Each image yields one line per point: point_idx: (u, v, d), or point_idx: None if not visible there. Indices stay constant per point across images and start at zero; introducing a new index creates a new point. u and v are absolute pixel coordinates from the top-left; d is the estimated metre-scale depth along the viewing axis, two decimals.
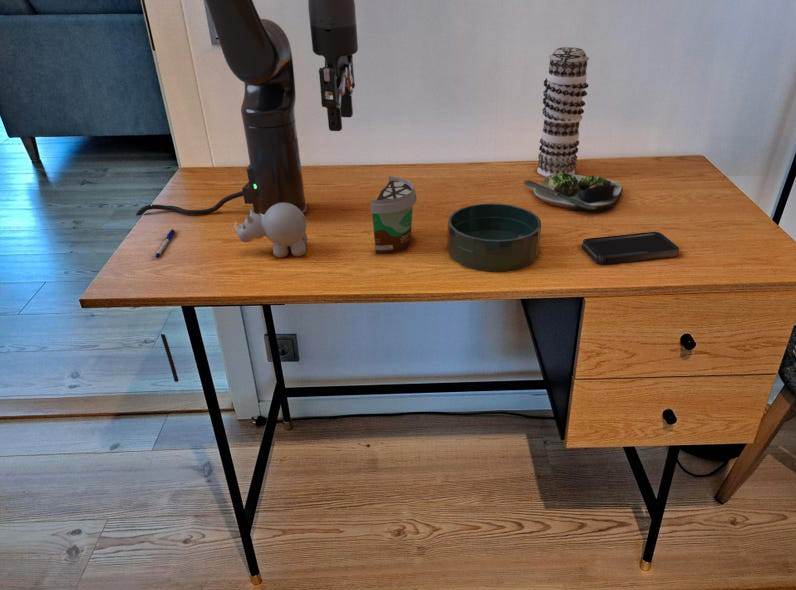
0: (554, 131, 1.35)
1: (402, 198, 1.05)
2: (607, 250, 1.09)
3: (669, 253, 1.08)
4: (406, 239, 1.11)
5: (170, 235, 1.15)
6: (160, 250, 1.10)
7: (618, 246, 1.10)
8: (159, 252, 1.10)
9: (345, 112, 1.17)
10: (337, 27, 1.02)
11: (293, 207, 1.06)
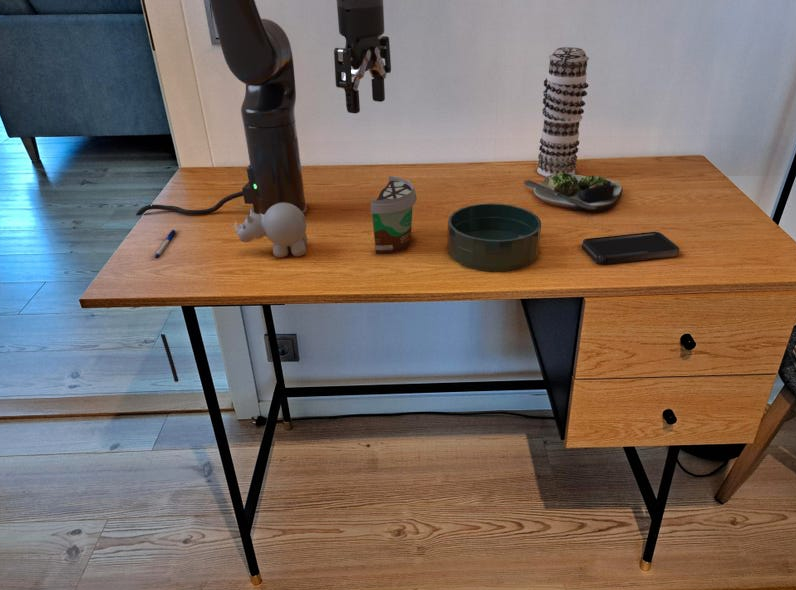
0: (554, 131, 1.35)
1: (402, 198, 1.05)
2: (607, 250, 1.09)
3: (669, 253, 1.08)
4: (406, 239, 1.11)
5: (171, 235, 1.15)
6: (160, 251, 1.10)
7: (618, 246, 1.10)
8: (159, 253, 1.10)
9: (377, 96, 1.16)
10: (357, 8, 1.01)
11: (293, 207, 1.06)
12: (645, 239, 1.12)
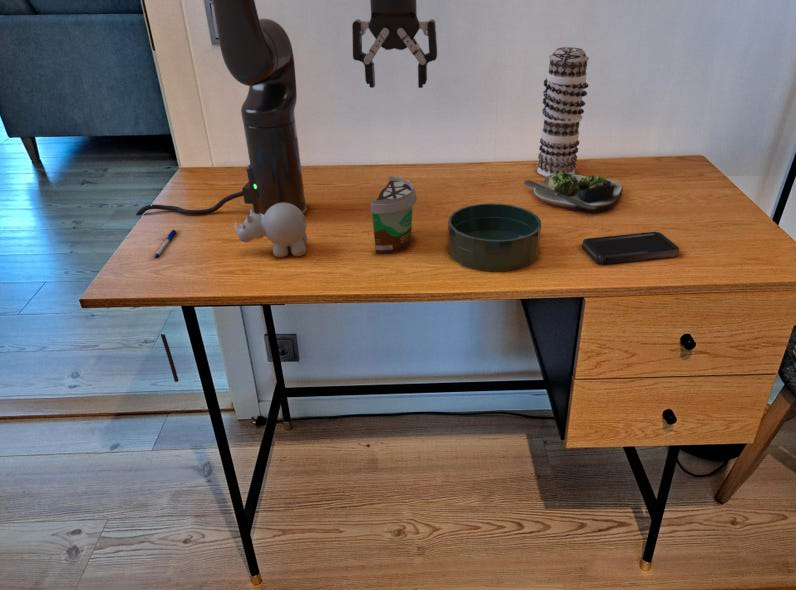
0: (554, 131, 1.35)
1: (402, 198, 1.05)
2: (607, 250, 1.09)
3: (669, 253, 1.08)
4: (406, 239, 1.11)
5: (171, 235, 1.15)
6: (160, 251, 1.10)
7: (618, 246, 1.10)
8: (158, 253, 1.10)
9: None
10: None
11: (293, 207, 1.06)
12: (645, 239, 1.12)
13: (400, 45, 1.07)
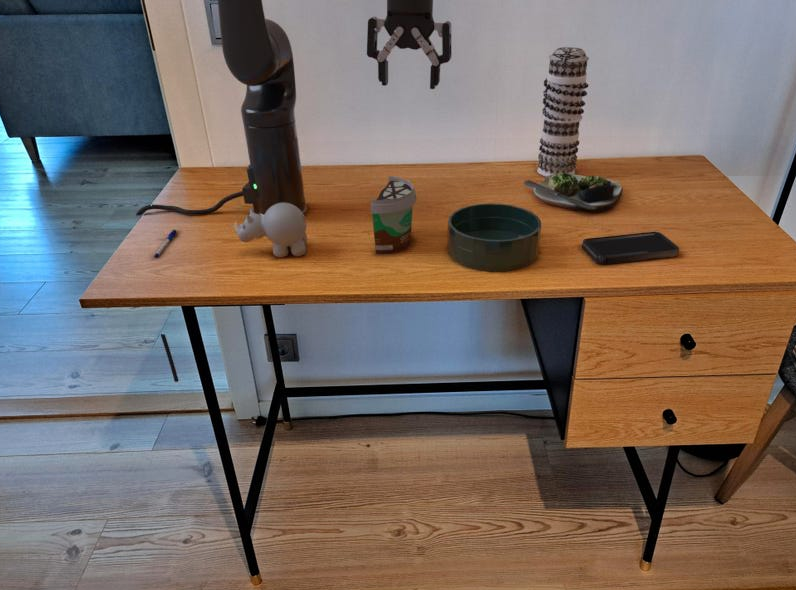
0: (554, 131, 1.35)
1: (402, 198, 1.05)
2: (607, 250, 1.09)
3: (669, 253, 1.08)
4: (406, 239, 1.11)
5: (171, 235, 1.15)
6: (159, 250, 1.10)
7: (618, 246, 1.10)
8: (158, 252, 1.10)
9: None
10: None
11: (293, 207, 1.06)
12: (645, 239, 1.12)
13: (414, 45, 1.07)
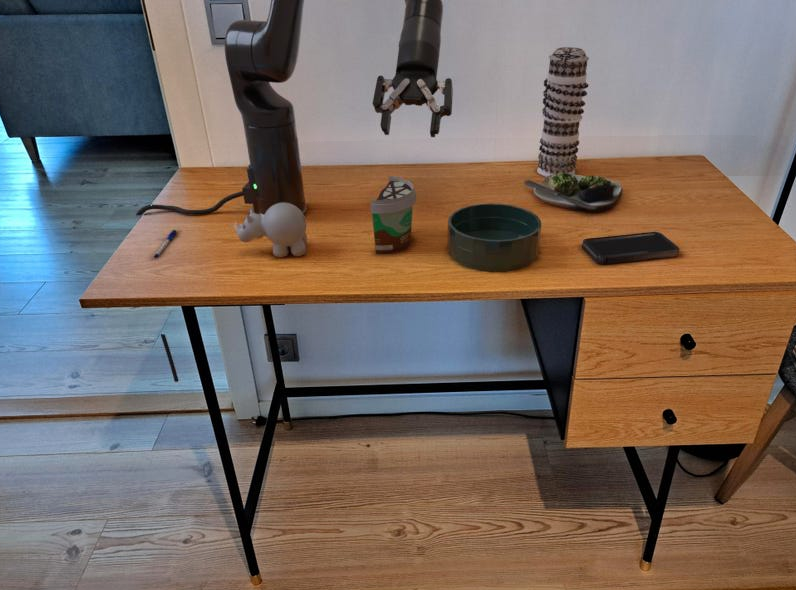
0: (554, 131, 1.35)
1: (402, 198, 1.05)
2: (607, 250, 1.09)
3: (669, 253, 1.08)
4: (406, 239, 1.11)
5: (171, 235, 1.15)
6: (159, 251, 1.10)
7: (618, 246, 1.10)
8: (158, 253, 1.10)
9: None
10: (399, 47, 1.16)
11: (293, 207, 1.06)
12: (645, 239, 1.12)
13: (418, 96, 1.15)
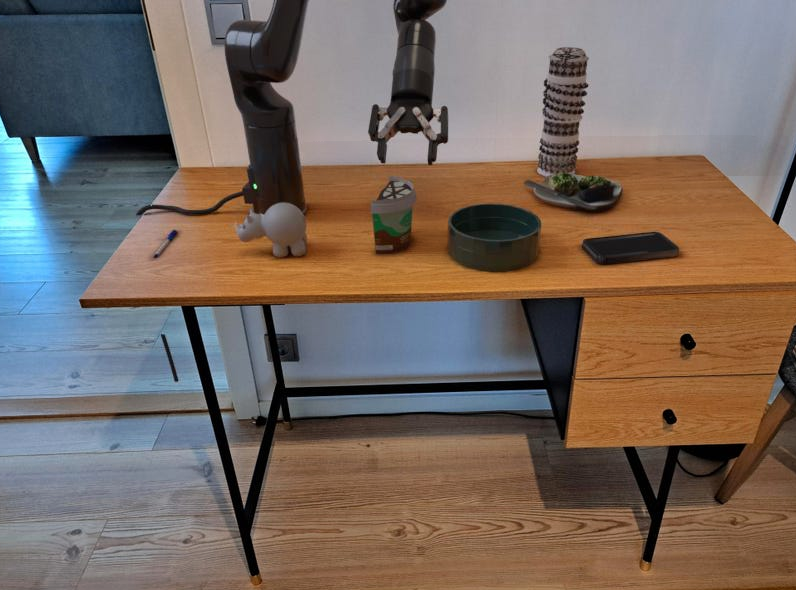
0: (554, 131, 1.35)
1: (402, 198, 1.05)
2: (607, 250, 1.09)
3: (669, 253, 1.08)
4: (406, 239, 1.11)
5: (171, 235, 1.15)
6: (159, 251, 1.10)
7: (618, 246, 1.10)
8: (157, 253, 1.10)
9: None
10: (393, 75, 1.16)
11: (293, 207, 1.06)
12: (645, 239, 1.12)
13: (414, 124, 1.14)
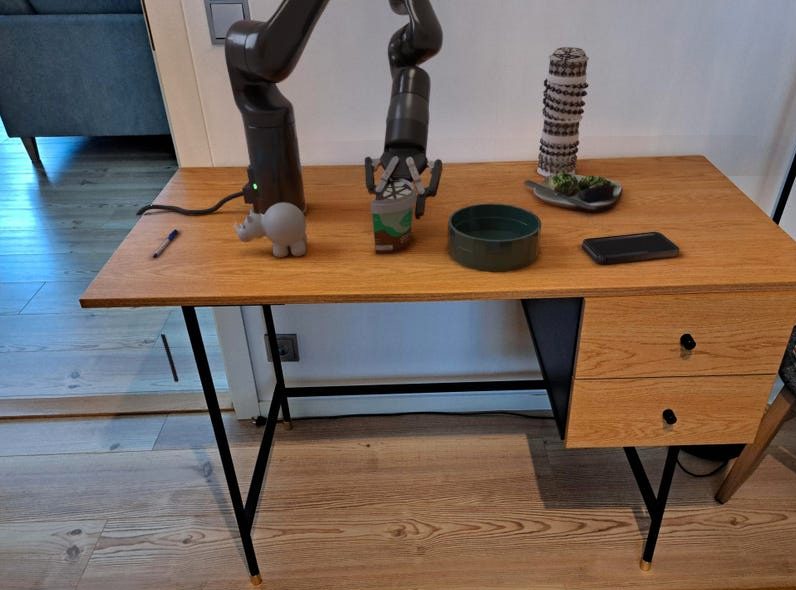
0: (554, 131, 1.35)
1: (402, 198, 1.05)
2: (607, 250, 1.09)
3: (669, 253, 1.08)
4: (406, 239, 1.11)
5: (172, 235, 1.15)
6: (158, 250, 1.10)
7: (618, 246, 1.10)
8: (157, 252, 1.10)
9: None
10: (387, 123, 1.13)
11: (293, 207, 1.06)
12: (645, 239, 1.12)
13: (407, 174, 1.11)
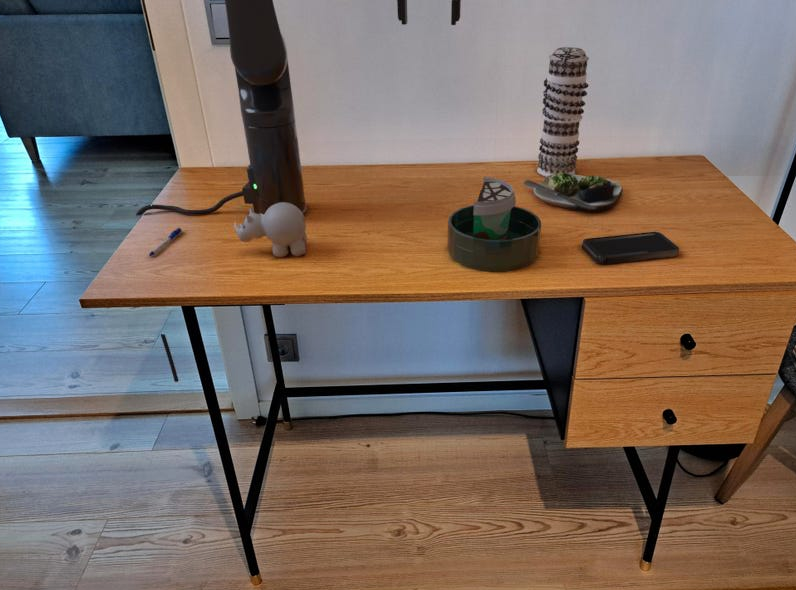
0: (554, 131, 1.35)
1: (505, 199, 1.02)
2: (607, 250, 1.09)
3: (669, 253, 1.08)
4: None
5: (174, 234, 1.15)
6: (156, 248, 1.10)
7: (618, 246, 1.10)
8: (154, 250, 1.10)
9: None
10: None
11: (293, 207, 1.06)
12: (645, 239, 1.12)
13: None
